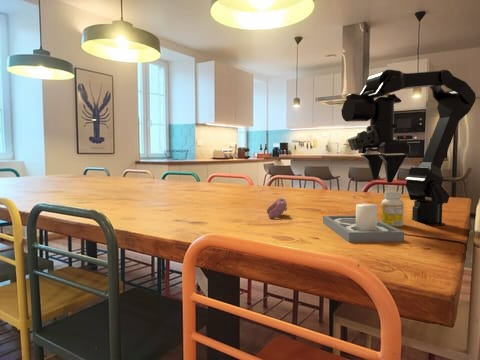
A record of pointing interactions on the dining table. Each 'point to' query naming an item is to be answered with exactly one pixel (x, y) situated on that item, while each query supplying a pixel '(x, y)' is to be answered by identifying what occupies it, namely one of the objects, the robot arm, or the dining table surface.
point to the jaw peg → (366, 217)
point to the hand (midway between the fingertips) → (381, 180)
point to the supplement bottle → (392, 209)
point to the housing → (347, 230)
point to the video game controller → (277, 208)
